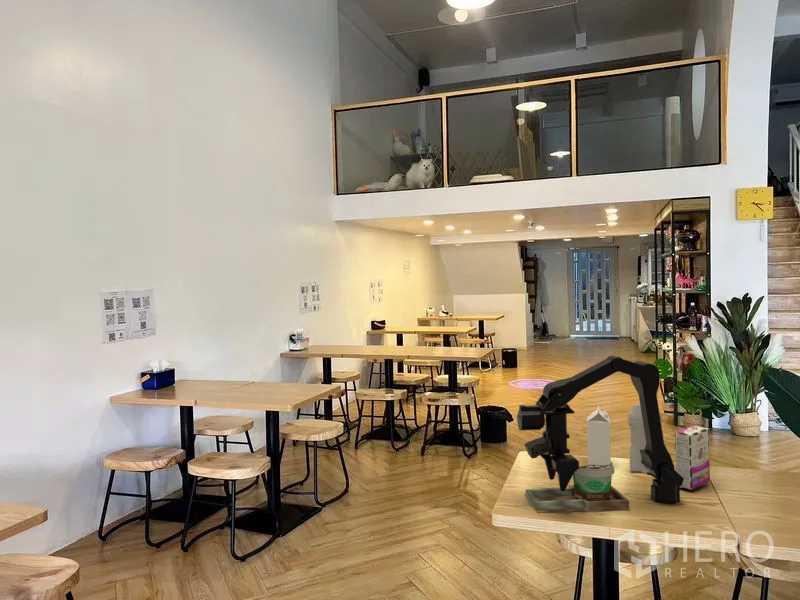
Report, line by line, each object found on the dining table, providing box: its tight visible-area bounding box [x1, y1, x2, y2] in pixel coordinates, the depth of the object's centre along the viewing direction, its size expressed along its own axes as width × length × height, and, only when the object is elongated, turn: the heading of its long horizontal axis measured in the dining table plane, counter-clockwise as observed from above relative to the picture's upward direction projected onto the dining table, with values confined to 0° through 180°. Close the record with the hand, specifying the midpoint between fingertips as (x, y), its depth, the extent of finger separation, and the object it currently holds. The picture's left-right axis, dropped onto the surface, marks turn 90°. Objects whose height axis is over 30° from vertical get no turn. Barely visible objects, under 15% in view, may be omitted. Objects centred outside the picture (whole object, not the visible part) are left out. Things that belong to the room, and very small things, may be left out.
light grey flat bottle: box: [627, 403, 663, 474], centre depth 184 cm, size 11×4×22 cm, turn 87°
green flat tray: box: [524, 484, 630, 514], centre depth 160 cm, size 25×13×2 cm, turn 93°
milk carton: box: [586, 405, 612, 465], centre depth 192 cm, size 7×7×19 cm
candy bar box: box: [674, 425, 711, 491], centre depth 172 cm, size 11×5×16 cm, turn 126°
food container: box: [572, 461, 616, 501], centre depth 158 cm, size 12×6×10 cm, turn 95°
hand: (556, 485), depth 159 cm, fingers open, 9 cm apart
